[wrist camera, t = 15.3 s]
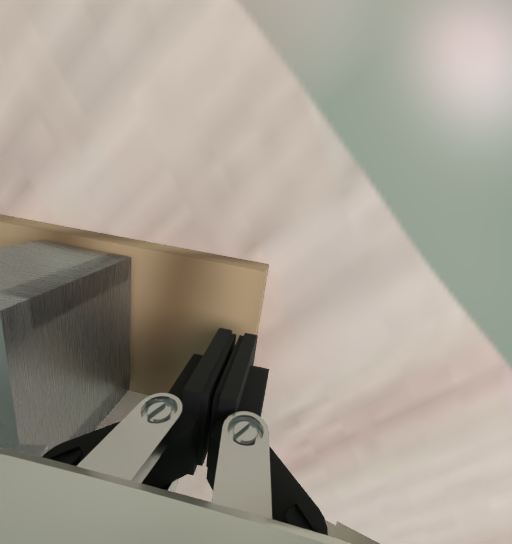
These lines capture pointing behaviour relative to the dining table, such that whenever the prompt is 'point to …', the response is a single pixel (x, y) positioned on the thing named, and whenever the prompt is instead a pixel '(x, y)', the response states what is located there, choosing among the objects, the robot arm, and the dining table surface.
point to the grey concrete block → (61, 340)
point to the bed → (166, 297)
